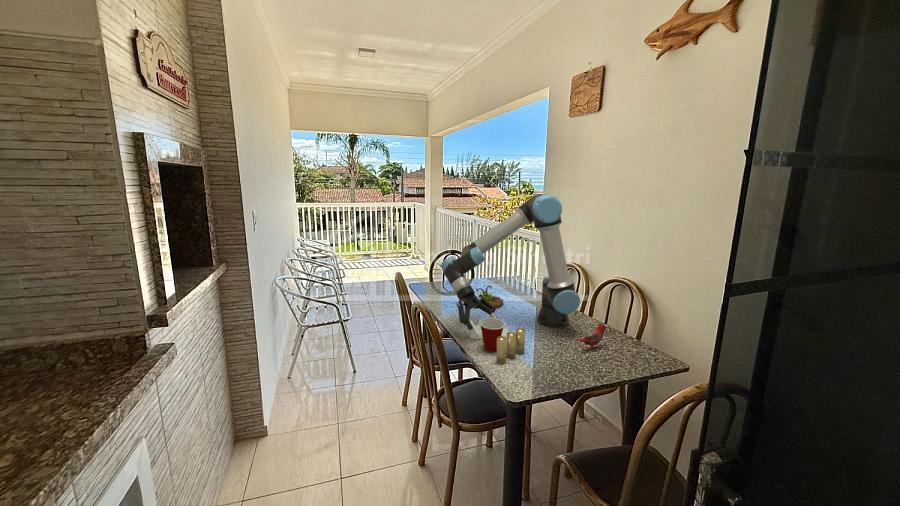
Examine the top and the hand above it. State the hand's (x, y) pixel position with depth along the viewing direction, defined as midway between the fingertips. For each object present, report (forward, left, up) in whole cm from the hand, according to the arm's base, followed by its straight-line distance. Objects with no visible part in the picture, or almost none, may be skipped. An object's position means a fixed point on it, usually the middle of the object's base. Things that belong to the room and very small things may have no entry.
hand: (488, 331), depth 153 cm
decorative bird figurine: (-42, -9, -8) cm, 43 cm away
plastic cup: (-2, 0, -8) cm, 8 cm away
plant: (+9, -59, -8) cm, 61 cm away
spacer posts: (-10, +6, -8) cm, 14 cm away
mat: (+1, -17, -8) cm, 18 cm away
